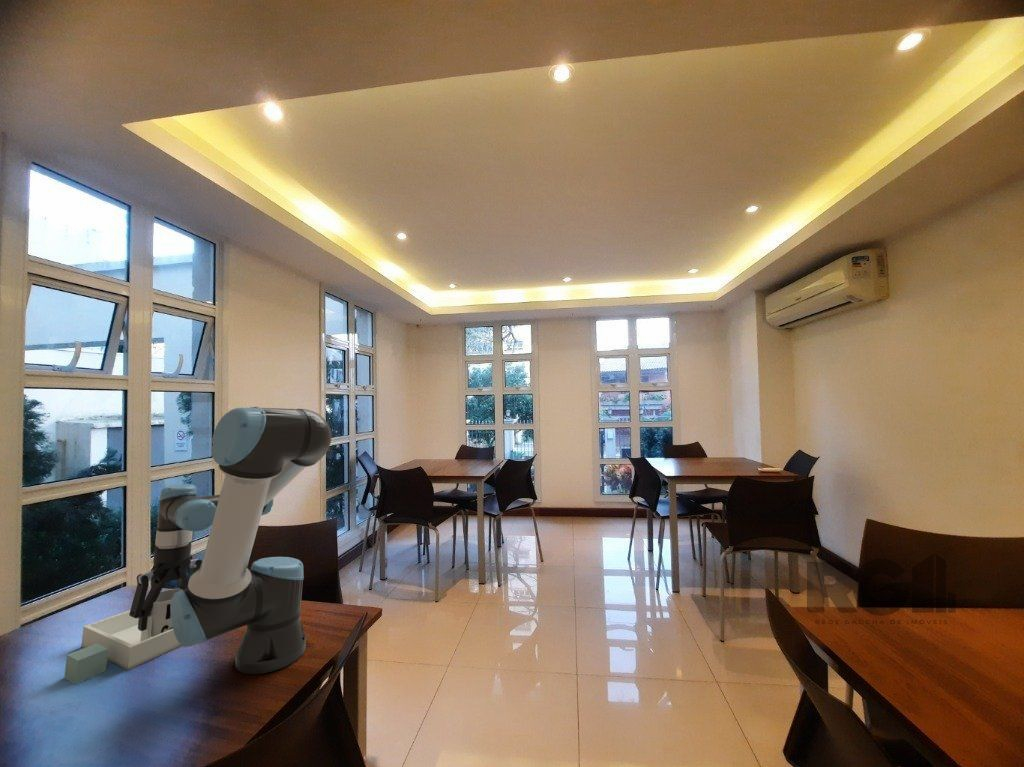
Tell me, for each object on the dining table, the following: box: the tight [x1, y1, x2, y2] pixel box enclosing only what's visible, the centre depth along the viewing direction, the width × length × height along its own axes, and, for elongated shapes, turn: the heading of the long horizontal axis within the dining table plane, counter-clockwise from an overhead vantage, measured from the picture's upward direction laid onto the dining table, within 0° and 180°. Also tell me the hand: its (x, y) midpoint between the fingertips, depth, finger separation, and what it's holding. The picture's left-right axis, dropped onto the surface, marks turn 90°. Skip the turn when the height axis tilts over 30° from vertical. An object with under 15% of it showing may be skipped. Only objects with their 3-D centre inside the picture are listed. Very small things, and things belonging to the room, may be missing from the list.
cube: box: [63, 643, 108, 685], centre depth 90 cm, size 5×5×5 cm
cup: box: [149, 588, 181, 637], centre depth 103 cm, size 8×8×10 cm
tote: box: [80, 609, 182, 671], centre depth 105 cm, size 22×20×5 cm
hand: (164, 633), depth 103 cm, fingers closed on cup, 7 cm apart
